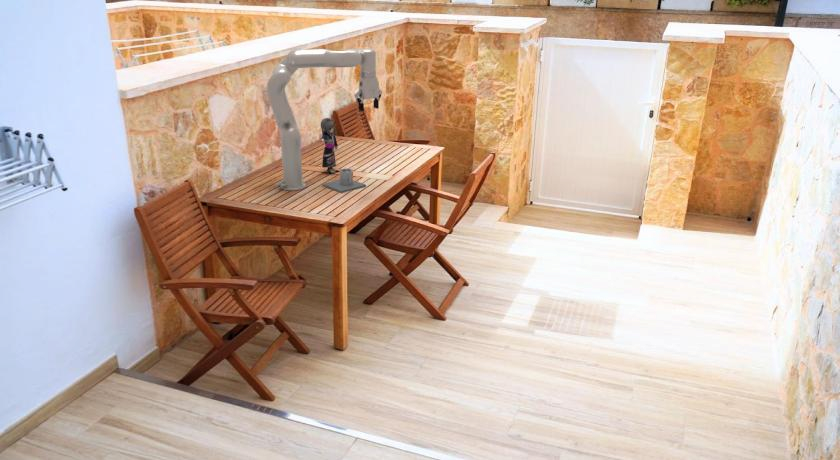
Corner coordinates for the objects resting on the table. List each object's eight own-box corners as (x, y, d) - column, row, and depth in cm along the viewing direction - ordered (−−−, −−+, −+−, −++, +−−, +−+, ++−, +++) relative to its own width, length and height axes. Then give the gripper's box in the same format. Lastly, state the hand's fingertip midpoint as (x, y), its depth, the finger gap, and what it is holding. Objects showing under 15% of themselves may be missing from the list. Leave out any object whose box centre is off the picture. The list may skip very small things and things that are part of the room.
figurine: (329, 178, 358) (327, 122, 347) (315, 177, 359) (313, 122, 348) (339, 169, 374) (337, 116, 363) (326, 169, 375) (324, 115, 364)
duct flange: (341, 193, 336) (341, 181, 334) (322, 185, 347) (321, 174, 345) (366, 186, 347) (365, 175, 344) (346, 179, 357) (346, 168, 355)
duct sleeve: (339, 185, 345) (339, 172, 342) (341, 181, 351) (340, 168, 348) (352, 185, 345) (352, 172, 342) (353, 181, 351) (353, 168, 348)
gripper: (359, 77, 325) (360, 113, 331) (386, 74, 336) (386, 108, 342) (349, 75, 330) (350, 110, 336) (376, 72, 341) (376, 106, 347)
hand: (368, 109), depth 339 cm, fingers open, 9 cm apart
